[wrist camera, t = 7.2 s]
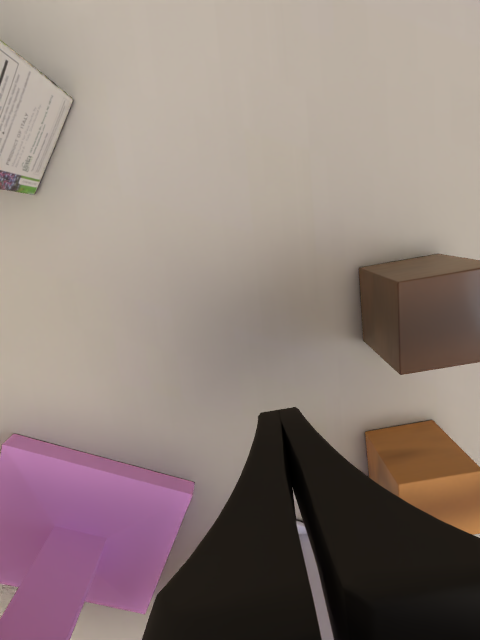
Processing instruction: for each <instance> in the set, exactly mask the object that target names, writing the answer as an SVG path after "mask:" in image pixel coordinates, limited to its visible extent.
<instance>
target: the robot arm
mask: <svg viewBox="0 0 480 640" xmlns="http://www.w3.org/2000/svg"><path fill="white" fill-rule="evenodd" d="M292 487H293V490H294V494H295V497H296V500H297V503H298V506H299V509H300V513H301V516H302V519H303V522H304V523H302V522H298V521H296V515H295V507H294V498H293V490H292ZM142 640H480V538H478V537H476V536H474V535H471V534H469V533H467V532H465V531H463V530H461V529H458V528H456V527H454V526H452V525H450V524H447V523H445V522H443V521H441V520H439V519H437V518H435V517H433V516H432V515H430V514H428V513H426V512H424V511H422V510H420V509H418V508H416V507H415V506H413V505H411V504H409V503H408V502H406V501H404V500H403V499H401V498H400V497H398V496H396V495H395V494H393V493H391V492H390V491H388V490H387V489H385V488H383V487H382V486H381V485H379V484H378V483H376V482H375V481H373V480H372V479H370V478H369V477H368V476H366V475H365V474H364V473H362V472H361V471H360V470H358V469H357V468H356V467H355V466H353V465H352V464H351V463H350V462H349V461H347V460H346V459H345V458H344V457H343V456H342V455H340V454H339V453H338V452H337V451H336V450H335V449H334V448H333V447H332V446H331V445H330V444H329V443H328V442H327V441H326V440H325V439H324V438H323V437H322V436H321V435H320V434H319V433H318V432H317V431H316V430H315V429H314V428H313V427H312V426H311V424H310V423H309V422H308V421H307V420H306V419H305V417H304V416H303V415H302V413H301V412H300V411H299V409H297V408H296V407H292V408H287V409H281V410H275V411H269V412H263V413H260V415H259V416H258V424H257V429H256V433H255V437H254V441H253V444H252V447H251V450H250V453H249V456H248V459H247V461H246V464H245V466H244V468H243V471H242V473H241V476H240V478H239V480H238V482H237V484H236V486H235V488H234V490H233V492H232V494H231V496H230V498H229V500H228V501H227V503H226V505H225V506H224V508H223V510H222V511H221V513H220V515H219V517H218V518H217V520H216V521H215V523H214V524H213V526H212V527H211V529H210V530H209V532H208V533H207V534H206V536H205V537H204V539H203V540H202V541H201V543H200V544H199V545H198V547H197V548H196V550H195V551H194V552H193V554H192V555H191V556H190V557H189V559H188V560H187V561H186V563H185V564H184V565H183V566H182V567H181V568H180V569H179V571H178V572H177V573H176V574H175V575H174V576H173V578H172V579H171V580H170V581H169V582H168V583H167V585H166V586H165V587H164V588H163V589H162V590H161V591H160V592H159V594H158V595H157V596H156V599H155V602H154V605H153V607H152V610H151V613H150V616H149V619H148V622H147V626H146V629H145V632H144V635H143V638H142Z"/></svg>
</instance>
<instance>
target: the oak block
mask: <svg viewBox="0 0 480 640" xmlns="http://www.w3.org/2000/svg"><path fill="white" fill-rule="evenodd" d="M365 436H366V447H367V458H368V470H369V478H370V479H372V480H373V481H375V482H376V483H378V484H379V485H381V486H382V487H383V488H385V489H387V490H388V491H390V492H391V493H393V494H395V495H396V496H398V497H400V498H401V499H403V500H404V501H406V502H408V503H409V504H411V505H413V506H415V507H416V508H418V509H420V510H422V511H424V512H426V513H428V514H430V515H432V516H433V517H435V518H437V519H439V520H441V521H443V522H445V523H447V524H450V525H452V526H454V527H456V528H458V529H461V530H463V531H465V532H467V533H469V534H471V535H473V534H480V467H479V466H478V465H477V464H476V463H475V462H474V461H473V460H472V459H471V458H470V457H469V456H468V455H467V454H466V453H465V452H464V451H463V450H462V449H461V448H460V447H459V446H458V445H457V444H456V443H455V442H454V441H453V440H452V439H451V438H450V437H449V436H448V435H447V434H446V433H445V432H444V431H443V430H442V429H441V428H440V427H439V426H438V425H437V424H436V423H435V422H434V421H433V420H430V421H424V422H418V423H412V424H407V425H401V426H395V427H389V428H384V429H378V430H372V431H366V432H365Z"/></svg>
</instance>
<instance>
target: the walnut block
mask: <svg viewBox="0 0 480 640" xmlns="http://www.w3.org/2000/svg"><path fill="white" fill-rule="evenodd" d="M359 278H360V295H361V312H362V328H363V341H364V342H365V343H366V344H367V345H368V346H370V347H371V348H372V349H373V350H374V351H375V352H376V353H377V354H378V355H379V356H380V357H381V358H383V359H384V360H385V361H386V362H387V363H388V364H389V365H390V366H391V367H392V368H393V369H394V370H396V371H397V372H398V373H399V374H400V375H403V374H409V373H415V372H421V371H427V370H433V369H440V368H446V367H452V366H458V365H464V364H470V363H477V362H480V260H474V259H468V258H461V257H455V256H449V255H442V254H435V255H429V256H423V257H417V258H412V259H406V260H400V261H394V262H389V263H383V264H377V265H371V266H366V267H360V268H359Z"/></svg>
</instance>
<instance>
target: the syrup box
mask: <svg viewBox="0 0 480 640" xmlns="http://www.w3.org/2000/svg"><path fill="white" fill-rule="evenodd" d="M72 102H73V99H72V97H71V96H69V95H68V94H67V93H66V92H64V91H63V90H62V89H60V88H59V87H58V86H57V85H56V84H54V83H53V82H52V81H51V80H50V79H48V78H47V77H46V76H45V75H43V74H42V73H41V72H40V71H39V70H37V69H36V68H35V67H34V66H32V65H31V64H30V63H28V62H27V61H26V60H25V59H23V58H22V57H21V56H20V55H18V54H17V53H16V52H15V51H14V50H12V49H11V48H10V47H9V46H7V45H6V44H5V43H4V42H2V41H1V40H0V189H3V190H9V191H15V192H21V193H27V194H32V195H33V194H35V192H36V190H37V188H38V185H39V183H40V181H41V178H42V176H43V173H44V171H45V169H46V166H47V164H48V161H49V159H50V157H51V154H52V152H53V149H54V147H55V144H56V142H57V140H58V137H59V134H60V132H61V129H62V126H63V124H64V122H65V119H66V117H67V114H68V111H69V109H70V107H71V104H72Z"/></svg>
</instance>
